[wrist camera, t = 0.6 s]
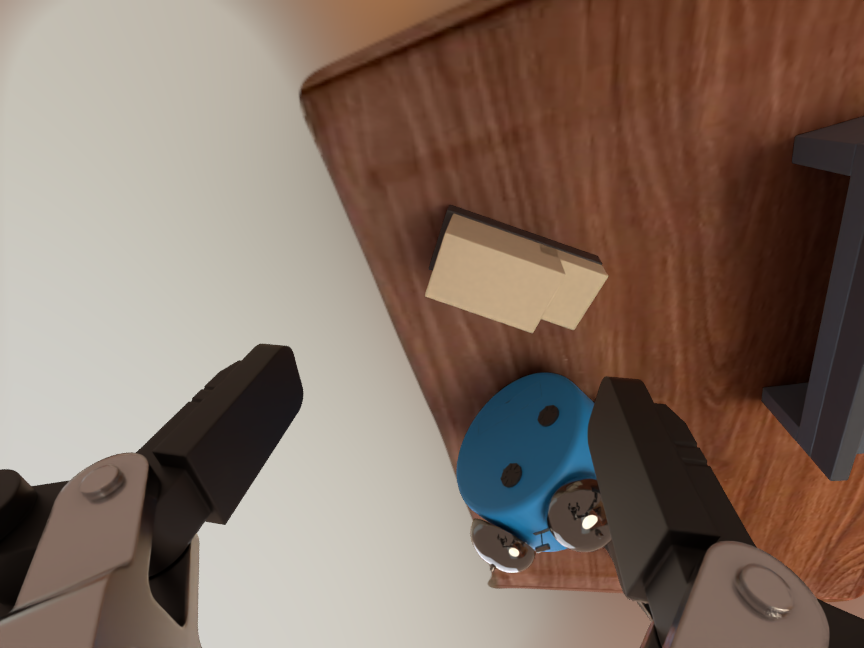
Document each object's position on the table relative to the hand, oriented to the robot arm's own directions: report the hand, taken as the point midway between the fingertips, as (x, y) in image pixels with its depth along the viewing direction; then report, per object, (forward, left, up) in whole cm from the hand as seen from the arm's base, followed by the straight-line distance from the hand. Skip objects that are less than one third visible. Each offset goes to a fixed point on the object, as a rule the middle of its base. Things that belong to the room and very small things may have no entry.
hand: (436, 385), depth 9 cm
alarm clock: (+18, +8, -21) cm, 29 cm away
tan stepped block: (+4, +3, -21) cm, 21 cm away
